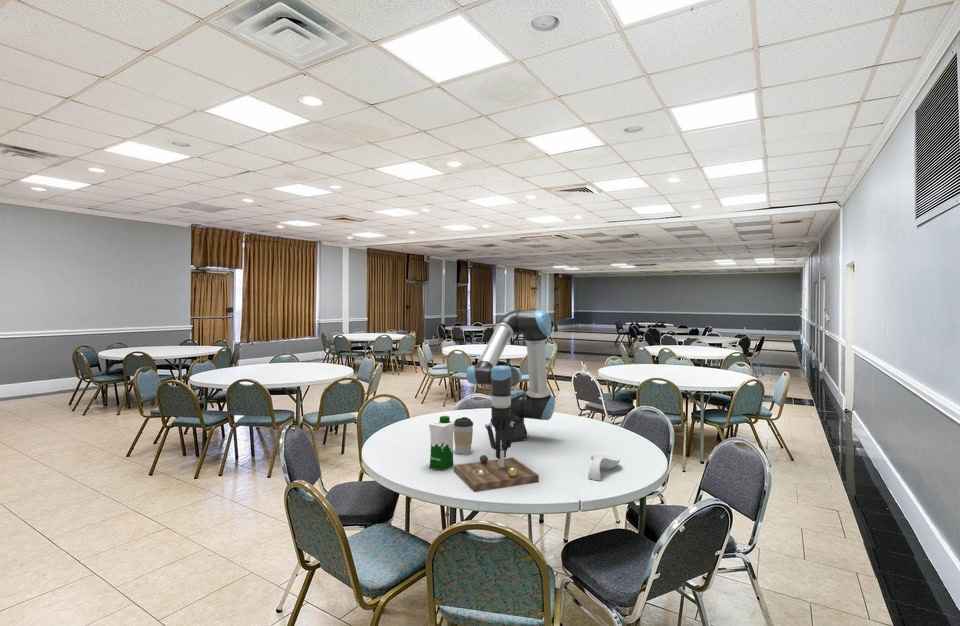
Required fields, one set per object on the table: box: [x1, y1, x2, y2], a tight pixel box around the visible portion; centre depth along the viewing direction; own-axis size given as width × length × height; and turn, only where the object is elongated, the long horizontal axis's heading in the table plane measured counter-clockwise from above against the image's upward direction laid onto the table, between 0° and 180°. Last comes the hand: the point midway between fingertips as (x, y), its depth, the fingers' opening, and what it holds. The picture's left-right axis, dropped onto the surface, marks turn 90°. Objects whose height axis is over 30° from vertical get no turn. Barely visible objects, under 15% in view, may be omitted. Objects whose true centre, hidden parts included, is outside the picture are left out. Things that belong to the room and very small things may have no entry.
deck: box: [453, 457, 540, 492], centre depth 185 cm, size 26×22×2 cm
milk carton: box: [428, 415, 455, 471], centre depth 195 cm, size 9×9×20 cm
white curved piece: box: [587, 454, 621, 482], centre depth 192 cm, size 24×12×7 cm, turn 153°
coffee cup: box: [453, 416, 474, 455], centre depth 215 cm, size 9×9×15 cm
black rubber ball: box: [479, 454, 489, 463], centre depth 193 cm, size 3×3×3 cm
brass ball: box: [508, 467, 517, 477], centre depth 178 cm, size 4×4×4 cm
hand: (500, 466), depth 186 cm, fingers closed
